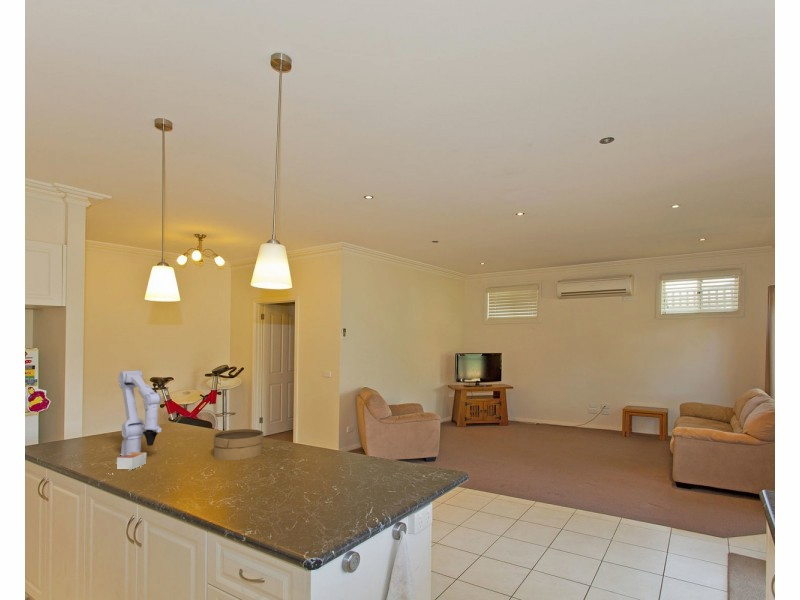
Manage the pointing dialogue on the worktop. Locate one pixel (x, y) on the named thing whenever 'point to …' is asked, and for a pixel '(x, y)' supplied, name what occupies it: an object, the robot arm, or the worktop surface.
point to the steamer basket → (238, 444)
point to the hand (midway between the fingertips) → (150, 445)
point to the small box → (131, 460)
